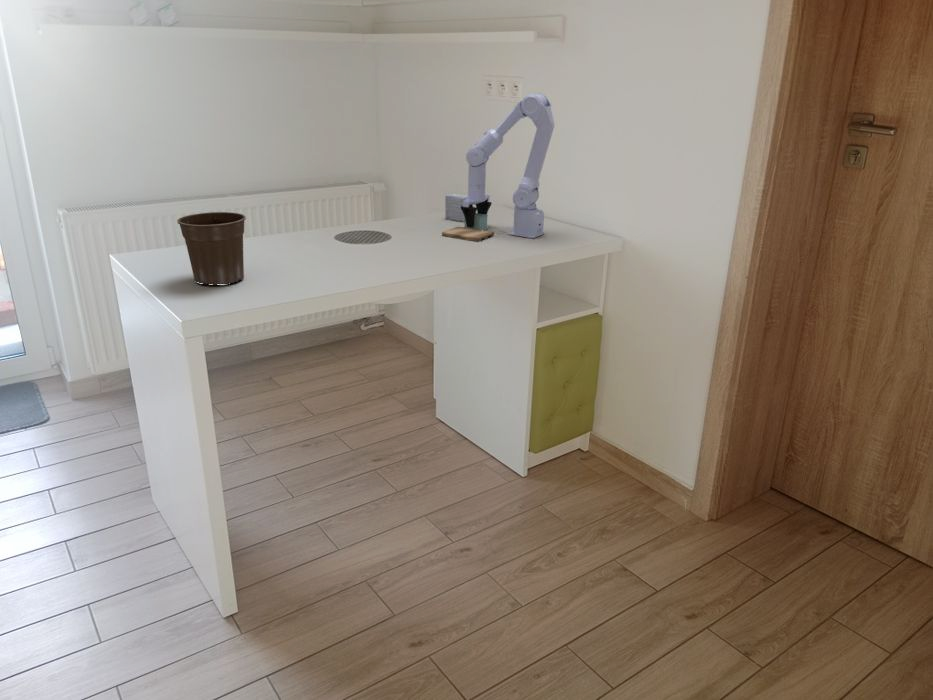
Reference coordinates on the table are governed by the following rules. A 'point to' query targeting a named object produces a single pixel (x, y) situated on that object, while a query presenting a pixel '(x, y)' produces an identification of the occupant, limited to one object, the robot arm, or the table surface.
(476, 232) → the thin wooden board
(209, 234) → the plant pot
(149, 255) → the table surface
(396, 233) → the table surface
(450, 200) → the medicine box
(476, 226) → the pale teal rectangular block
